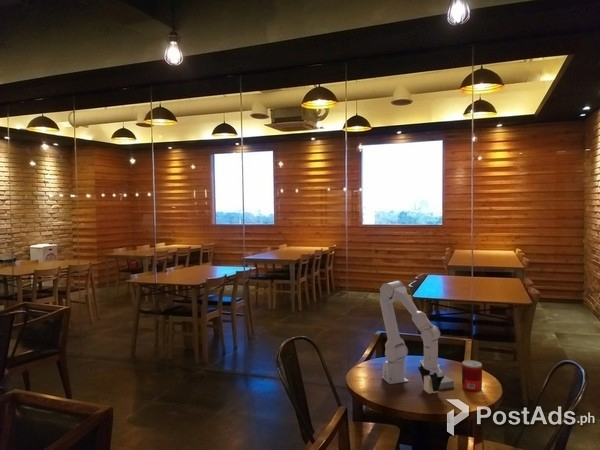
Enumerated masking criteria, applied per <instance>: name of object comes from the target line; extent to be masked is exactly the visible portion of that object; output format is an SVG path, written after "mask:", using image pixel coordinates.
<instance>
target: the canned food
mask: <svg viewBox="0 0 600 450" xmlns="http://www.w3.org/2000/svg"><path fill="white" fill-rule="evenodd" d="M461 387H462V389H463V390H464V391H467V392H471V393H479V392H481V391H482V389H483V364H482V362H480V361H477V360H472V359H471V360H470V359H468V360H463V361H462V363H461Z"/></svg>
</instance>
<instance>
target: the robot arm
mask: <svg viewBox="0 0 600 450" xmlns="http://www.w3.org/2000/svg"><path fill="white" fill-rule="evenodd" d="M379 292H380V296H379V304H380V309H381V314H382V319H383V323H384V328H385V334H386V337H387V339H386V340H387V341H386V342H385V344H384V347H385V351H384V356H385V359H387V360H385V361H383V362H382V372H381V374H382V376H381V378H382V379H383V380H384V381H385V382H386V383H388V384H390V385H393V384H400V383H406V382H407V383H408V382H409V379H407V378H406V375H405V372H406V371H405V370H406V369H405V367H406V363H405V360H406V357H407V356H408V353H409V349H408V347H407V346H406V343H405V340H404V339H403V338H402V337H401V336H400V332H399V327H398V321H397V318H396V314H395V309H394V304H393V303H394V302H395V301H398V302H399V301H400V303H401V304H402V305H403V307H405V308H406V310H407V311H408V312H409V313H410V315H411V320H412V322H413V323H414V325H415V326H416V327H417V329H418V330H419V332H420V338H421V340H422V342H423V343H422V344H423V359H420V360H419V365H420V366H418V367H417V369H418V371H419V373H420V376H421V379H422V380H421V381H422V384H423V385H424V376H427V375H430V377H431V380H432V387H433V391H434V392H435V391H437V392H439V391H440V389H439V387H440V383H441V381H442V379H443V378H444V375H445V374H443V373H444V372H443V371H442V370H441V369H440V367H441V365H440V364H439V362H438V361H439V360H438V359H439V358H438V357H439V354H438V353H439V340H438V339H440V336H441V331H440V329H439V327H438V326H436V325H434V324H433V323H432V322H431V321H430V320H429V318H428V317H427V314H426V313H424V312H423V311H421V310H419V309H418V308H417V306H416V304H415V303H414V301H413V299H412V298H411V296H410V295H409V294H408V293H409V292H408V291H407V287H406V286H405V285H404V283H403V282H402V281H400V280H394V281H391V282H385V283H383V284H382V285H381V286H380V288H379ZM431 372H432V373H433V374H431Z"/></svg>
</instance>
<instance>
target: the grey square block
mask: <svg viewBox="0 0 600 450" xmlns="http://www.w3.org/2000/svg"><path fill="white" fill-rule="evenodd" d="M443 375H444V378H443V379H442V381H441V383H440V387H439V390H444V389H450V388H454V387H455V382H454V380H453V379H451V378H450V377H448V376H447V375H445V374H443Z"/></svg>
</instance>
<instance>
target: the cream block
mask: <svg viewBox="0 0 600 450" xmlns="http://www.w3.org/2000/svg"><path fill="white" fill-rule="evenodd" d="M430 375H431V374H430ZM430 375H427V376H424V384H423V390H424V391H425V392H426V393H427V394H436V393H438V391H435V392H434V391H433V387H432V380H431V377H430Z"/></svg>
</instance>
